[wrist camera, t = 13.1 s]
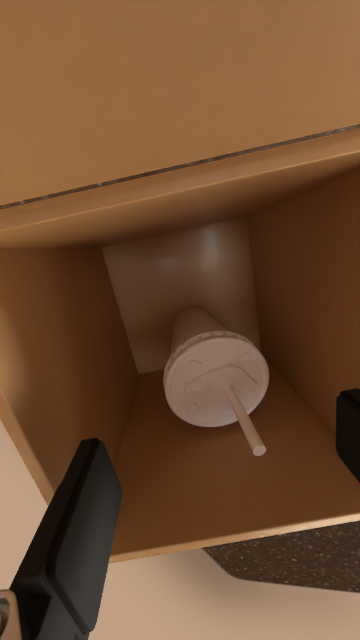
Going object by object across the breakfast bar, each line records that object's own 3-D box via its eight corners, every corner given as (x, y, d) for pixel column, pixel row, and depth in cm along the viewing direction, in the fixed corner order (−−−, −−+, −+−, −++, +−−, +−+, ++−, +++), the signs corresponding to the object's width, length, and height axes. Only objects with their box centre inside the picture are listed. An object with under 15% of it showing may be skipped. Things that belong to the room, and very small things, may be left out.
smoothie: (221, 353, 24) (303, 495, 11) (159, 356, 23) (168, 511, 10) (226, 293, 22) (338, 381, 9) (158, 294, 21) (167, 392, 8)
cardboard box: (95, 242, 20) (-104, 232, 6) (249, 209, 20) (467, 102, 5) (135, 376, 25) (81, 569, 10) (264, 351, 24) (406, 513, 10)
